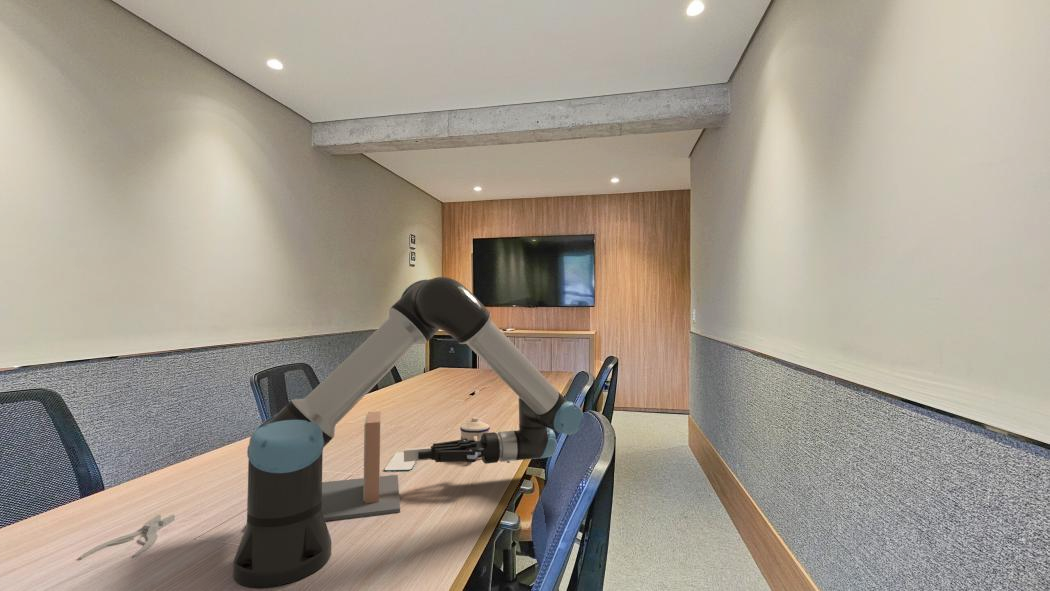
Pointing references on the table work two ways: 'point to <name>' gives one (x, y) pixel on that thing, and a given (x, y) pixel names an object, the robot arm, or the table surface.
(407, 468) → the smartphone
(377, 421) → the light wooden block
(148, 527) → the pliers
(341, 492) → the rubber mat
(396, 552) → the table surface
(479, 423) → the teacup with lid
